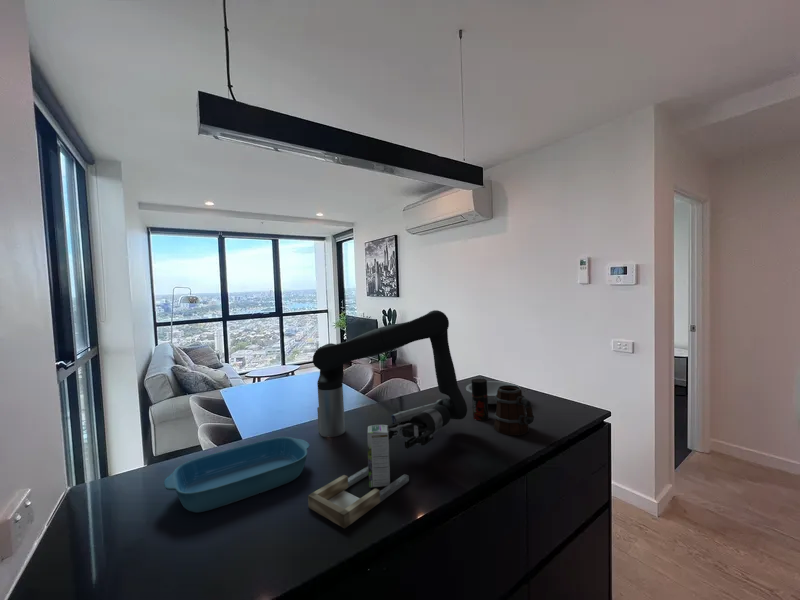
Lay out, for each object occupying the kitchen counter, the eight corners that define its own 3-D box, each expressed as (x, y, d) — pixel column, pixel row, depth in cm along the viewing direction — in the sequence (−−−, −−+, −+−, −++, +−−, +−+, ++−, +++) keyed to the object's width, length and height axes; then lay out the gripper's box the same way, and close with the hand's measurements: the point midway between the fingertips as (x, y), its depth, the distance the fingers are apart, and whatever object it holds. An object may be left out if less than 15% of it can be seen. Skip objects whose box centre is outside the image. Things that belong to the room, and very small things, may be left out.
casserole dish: (296, 450, 116) (294, 429, 116) (323, 476, 98) (321, 451, 98) (163, 491, 94) (162, 466, 94) (167, 535, 76) (165, 503, 76)
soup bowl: (480, 414, 141) (479, 398, 141) (458, 397, 164) (458, 383, 164) (532, 407, 146) (532, 391, 146) (504, 392, 169) (504, 378, 169)
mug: (487, 428, 126) (485, 387, 126) (510, 420, 132) (508, 381, 132) (522, 442, 112) (520, 397, 112) (546, 433, 118) (544, 390, 118)
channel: (374, 467, 101) (373, 462, 101) (408, 481, 93) (408, 475, 93) (344, 485, 92) (344, 480, 92) (380, 502, 84) (379, 496, 84)
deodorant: (491, 417, 136) (489, 379, 136) (483, 421, 132) (482, 383, 132) (477, 414, 140) (476, 377, 140) (470, 418, 136) (468, 381, 136)
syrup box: (369, 476, 96) (366, 425, 96) (390, 474, 96) (387, 423, 96) (369, 488, 90) (366, 433, 90) (391, 486, 91) (388, 431, 91)
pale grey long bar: (389, 412, 137) (443, 394, 146) (392, 428, 137) (446, 409, 147) (394, 416, 132) (450, 397, 141) (397, 433, 133) (452, 413, 142)
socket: (344, 485, 92) (343, 474, 92) (380, 502, 84) (379, 490, 84) (308, 507, 83) (308, 495, 83) (344, 528, 75) (343, 515, 75)
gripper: (408, 408, 115) (375, 423, 103) (444, 415, 106) (413, 433, 94) (409, 430, 116) (376, 448, 103) (445, 439, 107) (414, 461, 94)
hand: (394, 441), depth 98 cm, fingers open, 8 cm apart
